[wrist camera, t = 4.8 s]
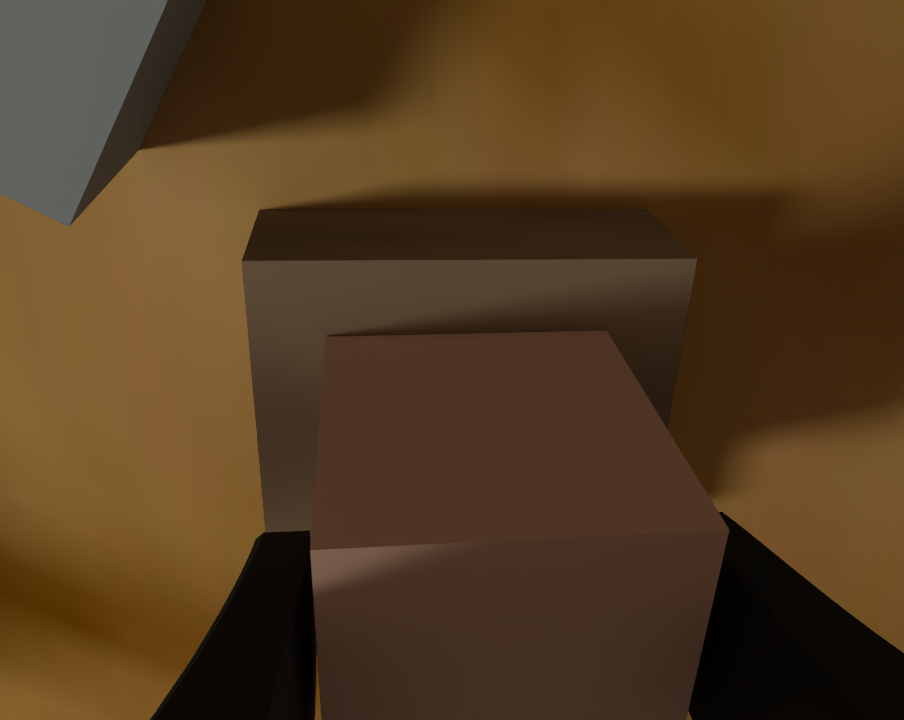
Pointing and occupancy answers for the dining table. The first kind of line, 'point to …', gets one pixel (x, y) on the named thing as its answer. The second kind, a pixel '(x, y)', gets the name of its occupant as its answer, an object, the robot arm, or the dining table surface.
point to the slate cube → (81, 92)
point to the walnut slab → (443, 303)
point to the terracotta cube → (504, 534)
